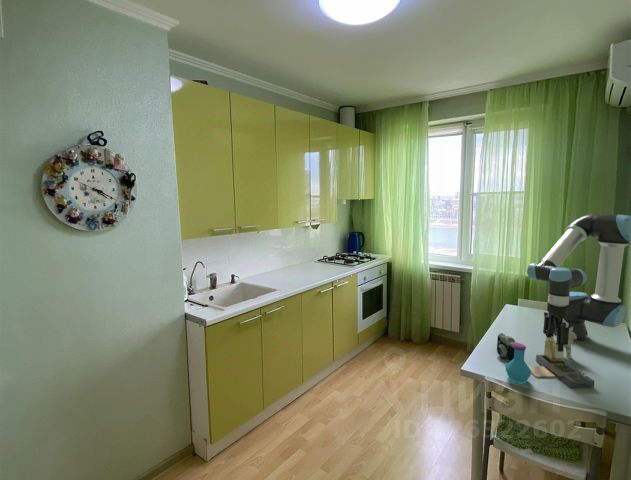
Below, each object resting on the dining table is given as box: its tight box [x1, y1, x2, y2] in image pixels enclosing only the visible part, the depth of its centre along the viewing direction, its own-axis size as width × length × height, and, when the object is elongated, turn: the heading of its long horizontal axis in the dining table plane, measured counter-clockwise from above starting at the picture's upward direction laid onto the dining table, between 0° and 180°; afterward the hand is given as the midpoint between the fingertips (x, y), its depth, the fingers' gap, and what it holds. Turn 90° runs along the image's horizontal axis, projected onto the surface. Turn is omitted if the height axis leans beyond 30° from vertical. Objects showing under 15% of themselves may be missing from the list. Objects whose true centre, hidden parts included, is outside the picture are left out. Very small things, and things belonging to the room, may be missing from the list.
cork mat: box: [528, 365, 557, 379], centre depth 148 cm, size 8×8×1 cm
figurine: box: [555, 327, 578, 359], centre depth 160 cm, size 8×8×15 cm
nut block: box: [543, 340, 565, 363], centre depth 153 cm, size 5×5×10 cm
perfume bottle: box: [505, 342, 532, 385], centre depth 142 cm, size 9×9×15 cm
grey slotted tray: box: [535, 354, 595, 389], centre depth 147 cm, size 9×22×3 cm, turn 0°
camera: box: [496, 332, 518, 362], centre depth 162 cm, size 15×7×10 cm, turn 2°
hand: (553, 354), depth 153 cm, fingers closed on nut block, 5 cm apart
